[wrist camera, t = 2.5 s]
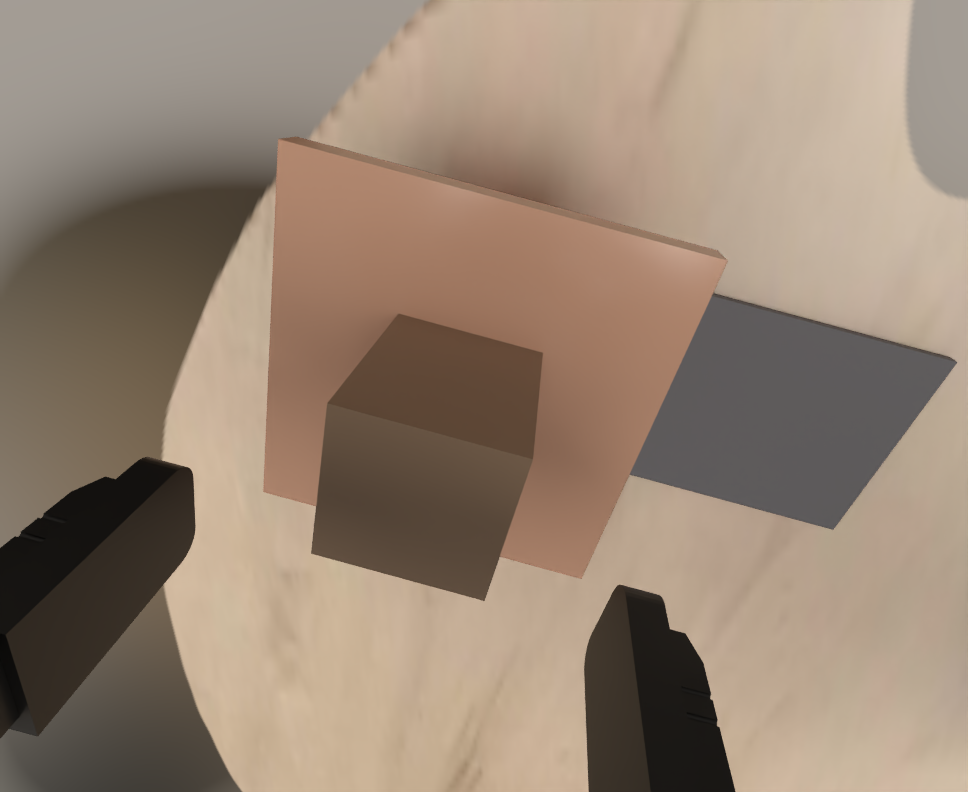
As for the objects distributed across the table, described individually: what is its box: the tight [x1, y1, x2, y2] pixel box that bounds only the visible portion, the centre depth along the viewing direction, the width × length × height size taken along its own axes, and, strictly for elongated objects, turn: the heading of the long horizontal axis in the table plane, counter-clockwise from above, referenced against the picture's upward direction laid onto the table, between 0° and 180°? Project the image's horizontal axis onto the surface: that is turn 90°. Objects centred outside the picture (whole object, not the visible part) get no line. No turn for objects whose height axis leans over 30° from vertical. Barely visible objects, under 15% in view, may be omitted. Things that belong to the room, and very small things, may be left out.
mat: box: [630, 294, 957, 529], centre depth 32 cm, size 16×12×1 cm
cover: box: [263, 137, 728, 601], centre depth 14 cm, size 11×11×6 cm
